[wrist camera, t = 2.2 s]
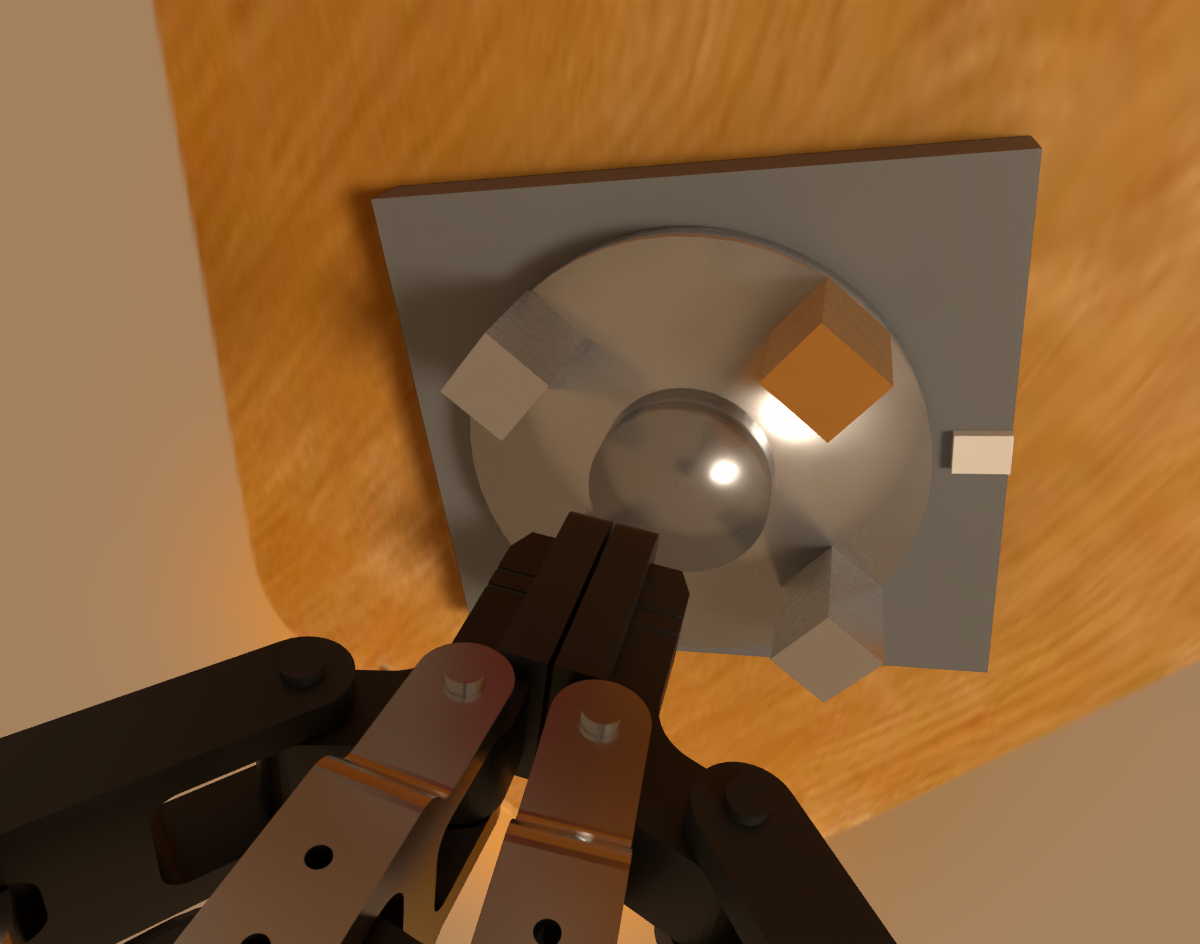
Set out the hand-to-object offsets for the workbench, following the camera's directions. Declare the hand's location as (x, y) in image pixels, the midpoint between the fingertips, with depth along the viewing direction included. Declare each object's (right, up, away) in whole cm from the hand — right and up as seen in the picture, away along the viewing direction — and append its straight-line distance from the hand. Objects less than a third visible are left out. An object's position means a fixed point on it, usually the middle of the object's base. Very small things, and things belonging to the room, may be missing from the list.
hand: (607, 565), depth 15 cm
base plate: (+4, +3, +19) cm, 20 cm away
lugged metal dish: (+3, +2, +17) cm, 18 cm away
